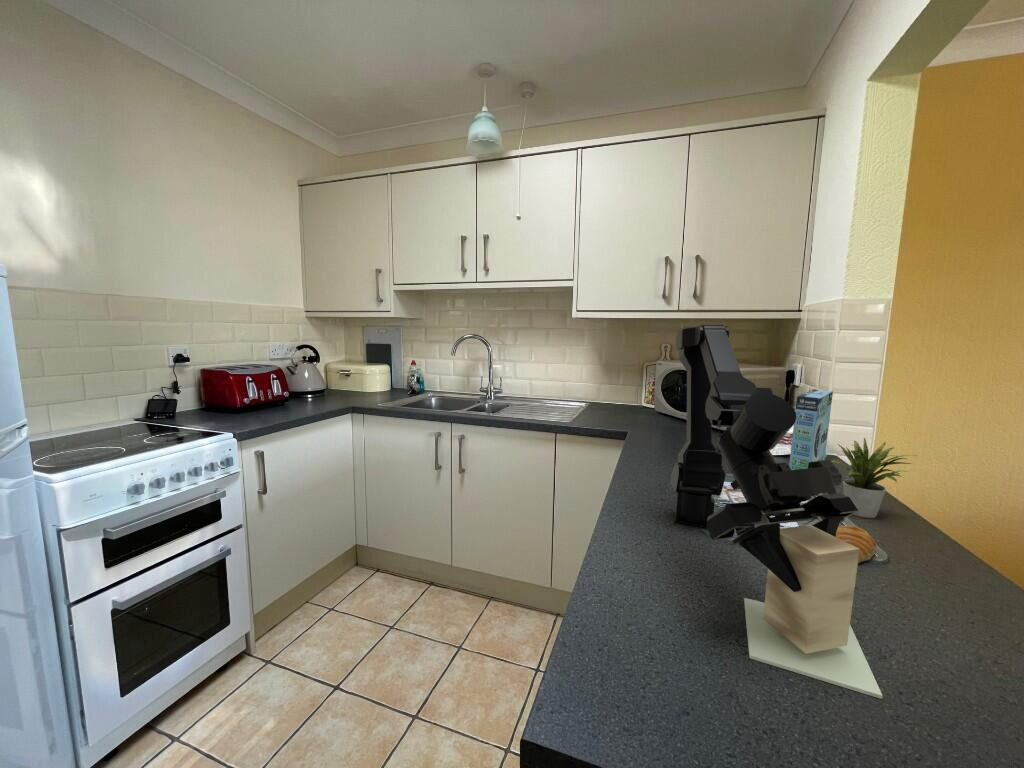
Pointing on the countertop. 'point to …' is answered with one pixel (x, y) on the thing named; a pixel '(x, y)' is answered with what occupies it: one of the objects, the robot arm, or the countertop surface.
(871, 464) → the house plant
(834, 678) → the sage mat
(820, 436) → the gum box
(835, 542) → the birch block
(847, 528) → the pastry
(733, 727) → the countertop surface
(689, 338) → the robot arm
